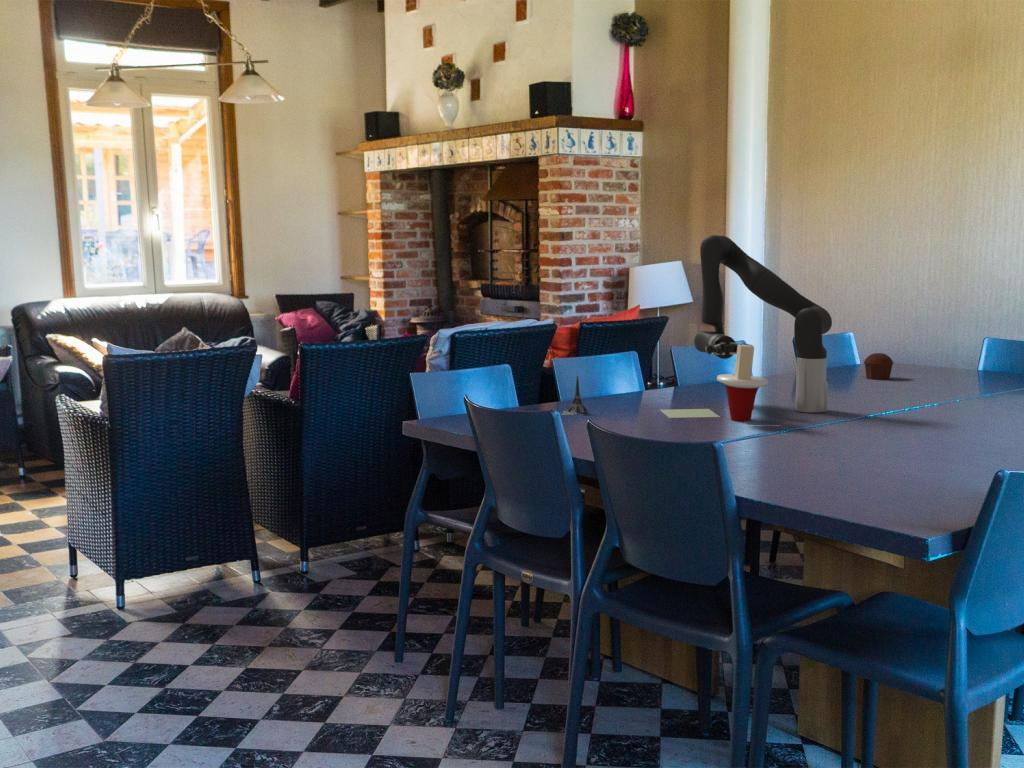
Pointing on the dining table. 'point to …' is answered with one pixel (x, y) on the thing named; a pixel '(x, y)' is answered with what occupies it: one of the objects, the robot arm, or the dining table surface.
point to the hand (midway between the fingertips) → (734, 351)
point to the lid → (743, 370)
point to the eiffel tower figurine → (577, 400)
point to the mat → (689, 413)
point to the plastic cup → (740, 401)
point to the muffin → (878, 366)
